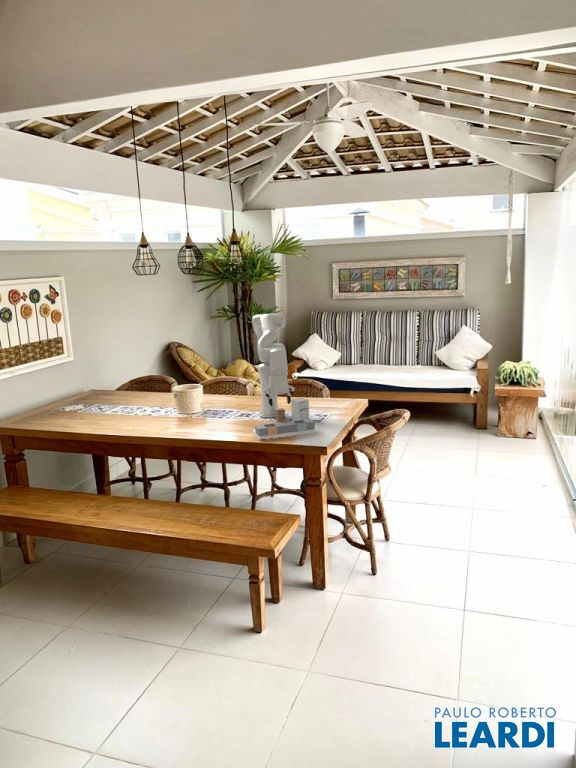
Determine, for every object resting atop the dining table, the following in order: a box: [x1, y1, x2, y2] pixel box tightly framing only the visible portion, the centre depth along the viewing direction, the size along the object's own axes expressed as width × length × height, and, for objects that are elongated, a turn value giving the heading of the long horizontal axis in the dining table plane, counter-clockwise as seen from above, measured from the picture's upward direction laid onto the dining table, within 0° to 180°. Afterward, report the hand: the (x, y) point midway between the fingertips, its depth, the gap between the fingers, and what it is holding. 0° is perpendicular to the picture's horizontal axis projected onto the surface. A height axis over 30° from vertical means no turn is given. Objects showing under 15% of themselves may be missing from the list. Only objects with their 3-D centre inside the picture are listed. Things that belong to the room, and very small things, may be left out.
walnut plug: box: [275, 408, 286, 423], centre depth 318 cm, size 4×4×10 cm
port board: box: [252, 418, 316, 441], centre depth 315 cm, size 14×30×6 cm, turn 107°
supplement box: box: [290, 397, 310, 421], centre depth 337 cm, size 7×7×13 cm
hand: (280, 404), depth 316 cm, fingers open, 9 cm apart
